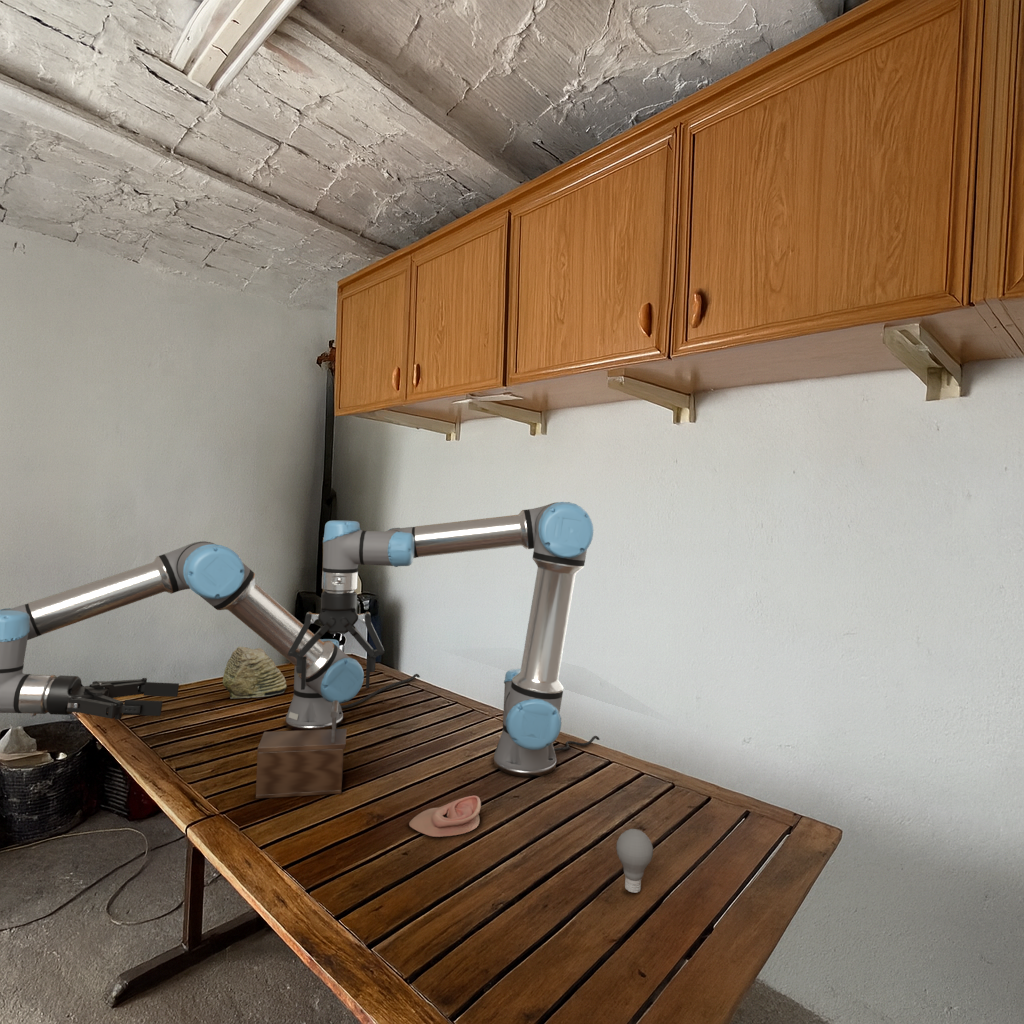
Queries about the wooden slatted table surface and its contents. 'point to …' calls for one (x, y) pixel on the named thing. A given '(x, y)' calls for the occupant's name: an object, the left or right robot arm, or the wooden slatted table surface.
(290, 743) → the lid
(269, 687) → the fossil
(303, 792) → the chest
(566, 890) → the wooden slatted table surface
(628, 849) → the light bulb
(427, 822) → the anatomical model
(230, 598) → the left robot arm
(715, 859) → the wooden slatted table surface
